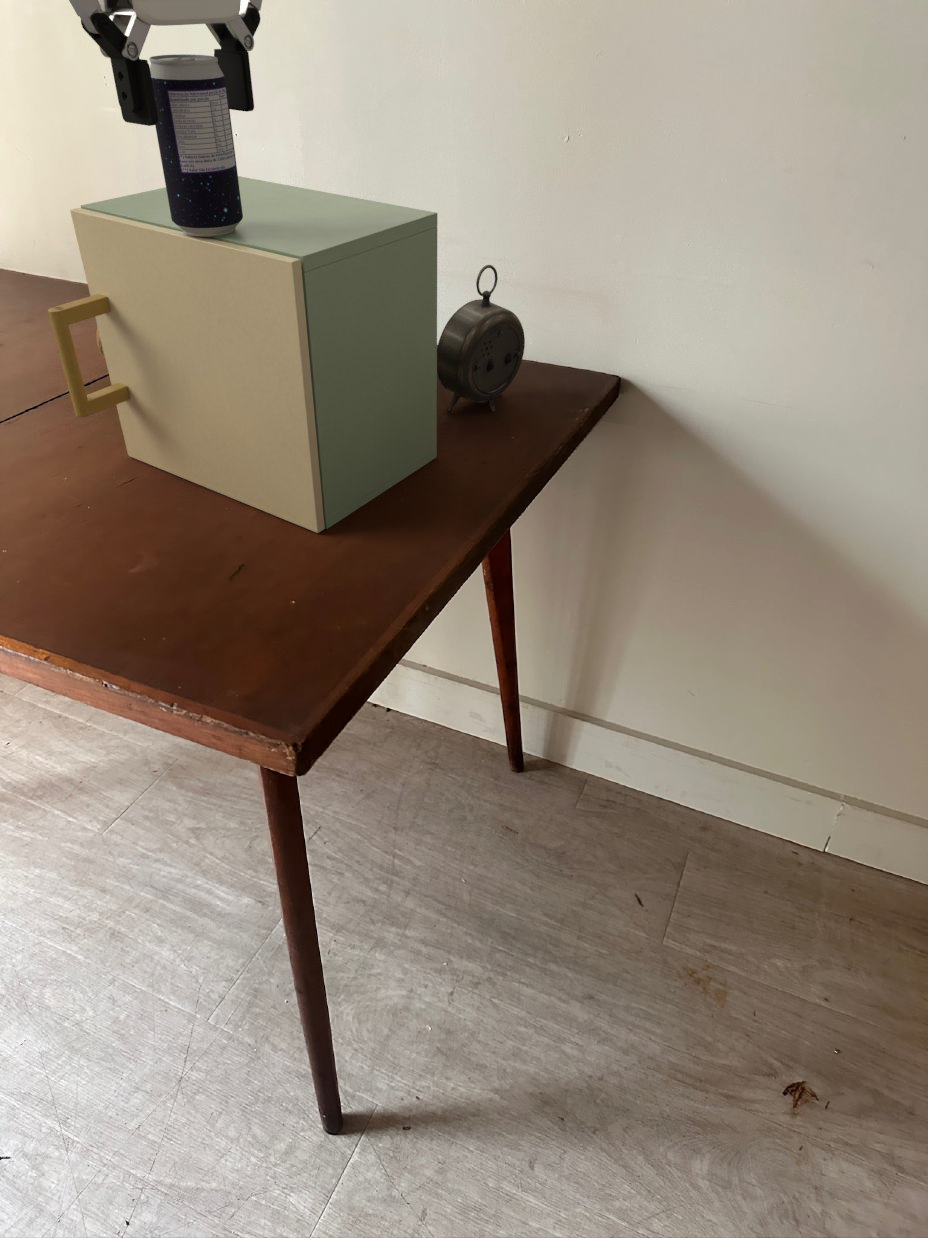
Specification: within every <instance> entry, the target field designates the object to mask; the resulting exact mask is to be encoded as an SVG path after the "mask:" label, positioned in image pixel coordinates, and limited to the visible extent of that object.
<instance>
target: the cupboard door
mask: <svg viewBox="0 0 928 1238" xmlns="http://www.w3.org/2000/svg"><path fill="white" fill-rule="evenodd" d="M69 211H70V215H71V221H72V225H73V228H74V229H73V230H74V232H75V237H76V241H77V246H78V250H79V255H80V259H81V263H82V267H83V270H84V271H83V272H84V275H85V280H86V283H87V287H88V292H89V296H87V297H82V298H80V299H76V300H72V301H70V302H66V303H62V304H59V305H56V306H53V307H52V306H51V307H49V308H47V313H48V314H47V315H48V317H49V321H50V325H51V328H52V332H53V333H52V334H53V336H54V339H55V343H56V348H57V351H58V355H59V358H60V362H61V366H62V371H63V374H64V377H65V381H66V385H67V388H68V391H69V392H68V393H69V395H70V398H71V404H72V406H73V409H74V414H75V416H76V417H77V418H86V417H90V416H92V415H94V414H97V413H99V412H102V411H105V410H107V409H109V408H111V407H114V406H116V409H117V410H116V411H117V414H118V418H119V423H120V427H121V431H122V435H123V439H124V444H125V447H126V451H127V456H128V457H130V458H132V459H135V460H137V461H140V462H142V463H144V464H147V465H149V466H153V467H155V468H157V469H159V470H162V471H164V472H167V473H169V474H172V475H174V476H176V477H178V478H182V479H184V480H186V481H189V482H191V483H194V484H196V485H198V486H201V487H204V488H206V489H208V490H211V491H213V492H216V493H218V494H221V495H222V496H223V495H224V496H225V497H228V498H230V499H232V500H235V501H238V502H240V503H243V504H244V505H248V506H249V507H252V508H255V509H258V510H260V511H262V512H265V513H267V514H270V515H272V516H274V517H277V518H278V519H279V518H280V519H282V520H285V521H287V522H289V523H292V524H294V525H296V526H299V527H301V528H304V529H307V530H309V531H311V532H313V533H316V534H320V533H321V532H322V531H324V530H325V529H326V528H325V527H324V516H323V504H322V493H321V482H320V471H319V460H318V448H317V437H316V426H315V415H314V403H313V392H312V381H311V370H310V359H309V347H308V336H307V325H306V314H305V302H304V291H303V280H302V269H301V260H300V259H296V258H292V257H288V256H283V255H279V254H275V253H271V252H266V251H262V250H258V249H253V248H249V247H245V246H241V245H236V244H232V243H228V242H223V241H219V240H215V239H210V238H206V237H201V236H192V235H188V234H186V233H184V232H180V231H176V230H172V229H168V228H163V227H159V226H155V225H150V224H146V223H142V222H137V221H133V220H129V219H125V218H120V217H116V216H112V215H107V214H103V213H99V212H94V211H90V210H86V209H82V208H81V207H76V208H71V209H70V210H69ZM92 318H95V322H96V326H97V328H98V330H99V334H100V338H101V343H102V347H103V351H104V355H105V360H106V362H105V364H106V367H107V372H108V376H109V380H110V384H111V385H109V386H106V387H104V388H101V389H98V390H96V391H93V392H91V393H88V394H87V391H86V388H85V382H84V380H83V376H82V372H81V368H80V364H79V361H78V356H77V353H76V348H75V345H74V341H73V337H72V332H71V329H70V325H73V324H76V323H80V322H82V321H83V322H84V321H85V320H89V319H92Z"/></svg>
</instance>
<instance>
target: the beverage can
mask: <svg viewBox="0 0 928 1238" xmlns="http://www.w3.org/2000/svg"><path fill="white" fill-rule="evenodd" d="M149 62H150V65H149V67H150V72H151V78H152V84H153V90H154V96H155V102H156V108H157V114H158V122H157V124H156V125H154V126H155V131H156V138H157V144H158V150H159V155H160V161H161V167H162V170H163V171H162V173H163V177H164V183H165V187H166V190H167V196H168V201H169V207H170V213H171V219H172V221H173V222H174V223H175V224H176V225H177V226H179V227H180V228H181V229H182V230H183V232H184V233H186V234H188V235H192V236H201V237H210V236H220V235H226V234H229V233H232V232H233V231H235V227H236V226H237V225H238V224H239V223H240V221H241V220H242V218H243V213H242V205H241V197H240V189H239V181H238V176H239V174H238V167H237V159H236V151H235V143H234V135H233V127H232V121H231V120H232V119H231V118H232V117H231V109H229V102H228V94H227V86H226V78H225V76H224V74H223V73H222V71H221V69H220V67H219V65H218V63H217V62H218V59H217V57H214V55H206V54H205V55H204V54H161V55H160V54H159V55H153V56H150V57H149Z"/></svg>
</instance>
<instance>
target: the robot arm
mask: <svg viewBox="0 0 928 1238" xmlns="http://www.w3.org/2000/svg"><path fill="white" fill-rule="evenodd" d="M68 1H69V3H70V5H71V7H72V8H73V10H74V12H75V14H76V16H77V17H79V18H80V24H81V27H82V29H83V30H84V31H85V33H86V34H88V35H87V36H89V37H90V38H91V39H92V40H93V41H94V42H95V43H96V44H97V45H98V47H99V50H100V53H101V54H102V56H104V57H105V58H108V59H110V64H111V69H112V74H113V79H114V80H113V81H114V85H115V92H116V95H117V100H118V105H119V107H120V111H121V117H122V119H123V121H124V122H125V123H127V124H128V123H129V124H135V125H142V126H147V127H150V126H155V125H156V124H157V122H158V114H157V108H156V102H155V96H154V90H153V84H152V78H151V72H150V64H149V62H148V59H141V58H140V55H141V53H142V51H143V47H144V45H145V43H146V40H147V37H148V34H149V31H150V29H151V27H152V26H158V27H160V26H162V27H163V26H165V27H166V26H187V25H189V26H190V25H205V26H206V28H207V29H208V30H209V32H210V33H211V35H212V36H213V38H214V39H215V41H216V42H217V44H218V45H219V46H220V48H214V49H213V52H214V53H213V56H214V57H217V59H218V62H217V63H218V65H219V67H220V69H221V71H222V73H223V74H224V76H225V78H226V86H227V94H228V102H229V110H231V111H232V110H233V111H240V112H246V113H247V112H252V111H254V109H255V100H254V92H253V82H252V74H251V72H252V71H251V65H250V54H249V52H252V51H253V50H254V47H255V39H254V36H255V34H256V32H257V30H258V28H259V26H260V24H261V14H260V12H261V9H262V5H263V4H262V3H263V0H68Z"/></svg>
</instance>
